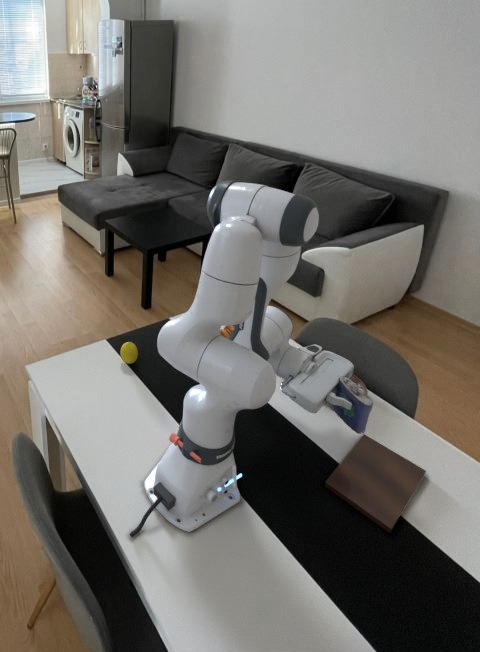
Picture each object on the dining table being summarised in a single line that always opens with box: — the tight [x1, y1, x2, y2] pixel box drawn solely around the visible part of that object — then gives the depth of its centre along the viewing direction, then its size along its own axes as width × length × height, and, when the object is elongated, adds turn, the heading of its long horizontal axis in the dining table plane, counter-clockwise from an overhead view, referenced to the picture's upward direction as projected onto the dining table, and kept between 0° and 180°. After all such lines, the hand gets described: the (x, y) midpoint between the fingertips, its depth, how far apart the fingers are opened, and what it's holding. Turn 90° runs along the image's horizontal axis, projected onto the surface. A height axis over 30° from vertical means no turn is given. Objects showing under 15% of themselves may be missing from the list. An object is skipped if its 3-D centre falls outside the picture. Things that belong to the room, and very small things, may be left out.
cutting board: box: [324, 433, 427, 534], centre depth 97 cm, size 20×13×2 cm, turn 127°
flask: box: [331, 376, 373, 435], centre depth 100 cm, size 9×3×11 cm, turn 9°
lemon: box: [120, 341, 139, 365], centre depth 137 cm, size 6×6×8 cm
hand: (357, 400), depth 98 cm, fingers closed on flask, 4 cm apart
